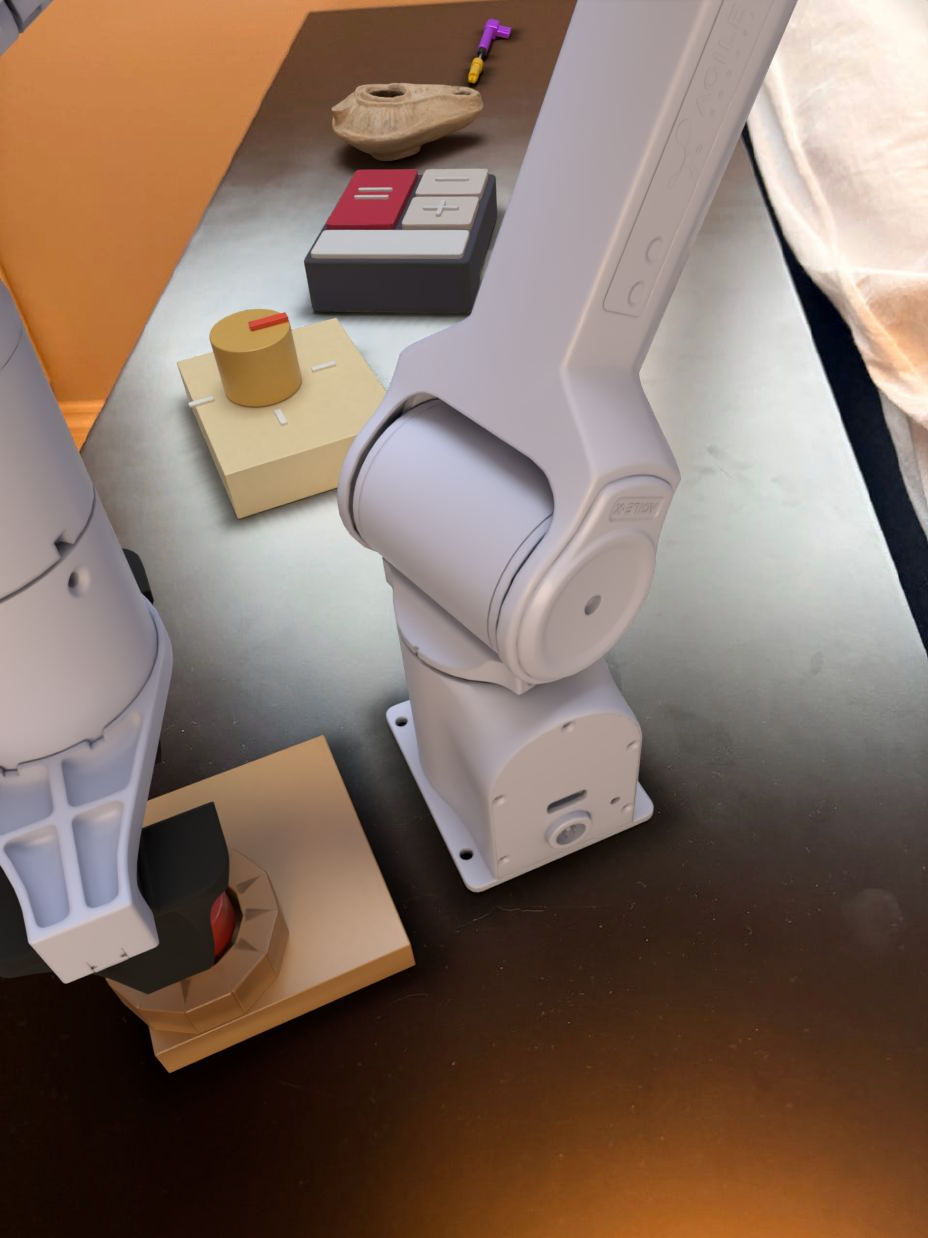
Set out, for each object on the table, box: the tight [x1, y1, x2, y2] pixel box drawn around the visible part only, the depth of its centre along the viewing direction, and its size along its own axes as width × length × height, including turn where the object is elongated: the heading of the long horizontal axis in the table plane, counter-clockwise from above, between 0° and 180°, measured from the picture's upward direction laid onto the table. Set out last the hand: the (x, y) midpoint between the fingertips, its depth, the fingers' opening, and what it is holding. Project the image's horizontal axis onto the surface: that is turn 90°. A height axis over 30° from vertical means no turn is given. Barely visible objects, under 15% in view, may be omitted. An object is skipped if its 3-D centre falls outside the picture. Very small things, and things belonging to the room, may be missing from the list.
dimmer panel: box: [176, 317, 387, 520], centre depth 57 cm, size 12×10×3 cm
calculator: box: [303, 168, 498, 314], centre depth 70 cm, size 11×4×15 cm
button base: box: [105, 734, 416, 1074], centre depth 36 cm, size 10×10×4 cm
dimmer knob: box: [208, 308, 302, 407], centre depth 55 cm, size 4×4×4 cm
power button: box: [210, 891, 236, 960], centre depth 33 cm, size 3×3×2 cm
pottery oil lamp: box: [331, 82, 484, 162], centre depth 83 cm, size 9×12×7 cm
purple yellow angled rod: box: [467, 18, 512, 84], centre depth 99 cm, size 3×1×16 cm
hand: (151, 859), depth 30 cm, fingers open, 7 cm apart
